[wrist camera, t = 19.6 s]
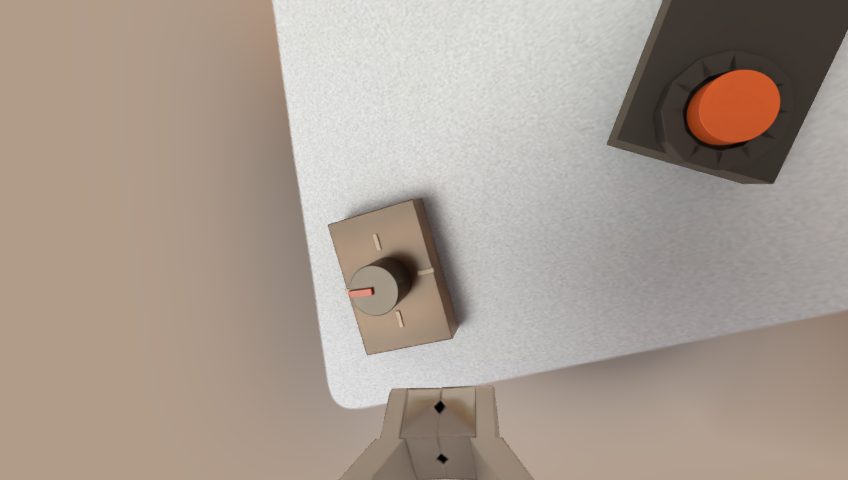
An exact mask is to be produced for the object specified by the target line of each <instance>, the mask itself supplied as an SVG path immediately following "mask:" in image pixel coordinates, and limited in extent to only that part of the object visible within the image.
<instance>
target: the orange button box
mask: <svg viewBox="0 0 848 480" xmlns="http://www.w3.org/2000/svg"><path fill="white" fill-rule="evenodd" d="M847 30H848V0H663V1H662V4H661V7H660V9H659V12H658V14H657V17H656V19H655V22H654V24H653V27H652V30H651V32H650V35H649V37H648V40H647V42H646V45H645V48H644V50H643V53H642V55H641V58H640V60H639V63H638V65H637V68H636V71H635V73H634V76H633V78H632V81H631V83H630V86H629V89H628V91H627V94H626V96H625V99H624V101H623V104H622V106H621V109H620V112H619V114H618V117H617V119H616V122H615V124H614V127H613V130H612V132H611V135H610V137H609V140H608V142H607V145H609V146H613V147H616V148H620V149H623V150H627V151H630V152H634V153H637V154H641V155H644V156H648V157H651V158H655V159H658V160H662V161H665V162H669V163H672V164H676V165H679V166H683V167H686V168H690V169H693V170H697V171H700V172H704V173H707V174H711V175H714V176H718V177H721V178H725V179H728V180H732V181H735V182H739V183H742V184H773V183H774V182H775V180H776V178H777V175H778V173H779V171H780V169H781V167H782V165H783V163H784V161H785V159H786V157H787V155H788V153H789V151H790V149H791V146H792V144H793V142H794V140H795V138H796V136H797V134H798V132H799V130H800V128H801V126H802V124H803V122H804V119H805V117H806V115H807V113H808V111H809V109H810V107H811V105H812V103H813V101H814V99H815V97H816V95H817V93H818V90H819V88H820V86H821V84H822V82H823V80H824V78H825V76H826V74H827V72H828V70H829V68H830V66H831V63H832V61H833V59H834V57H835V55H836V53H837V51H838V49H839V47H840V45H841V43H842V41H843V39H844V37H845V34H846V32H847ZM736 70H754V71H757V72H760V73H762V74H764V75H766V76H768V77H769V78H770V79H771V80H772V81H773V82H774V83H775V85H776V87H777V88H778V91H779V95H780V108H779V112H778V114H777V117H776V118H775V120H774V122H773V123H772V124H771V126H770V127H769V128H768V129H767V130H766V131H764V132H763V133H762V134H760V135H759V136H757V137H755V138H753V139H750V140H747V141H743V142H738V143H733V144H728V145H712V144H708V143H705V142H703V141H701V140H699V139H698V138H697V137H696V136H695V135H694V134H693V133H692V132H691V130H690V128H689V126H688V122H687V109H688V106H689V103H690V101H691V99H692V97H693V96H694V95H695V93H696V92H697V91H698V90H699V89H700V88H702V87H703V86H704V85H706V84H708V83H710V82H711V81H713V80H715V79H717V78H718V77H720V76H722V75H724V74H726V73H728V72H732V71H736Z"/></svg>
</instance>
